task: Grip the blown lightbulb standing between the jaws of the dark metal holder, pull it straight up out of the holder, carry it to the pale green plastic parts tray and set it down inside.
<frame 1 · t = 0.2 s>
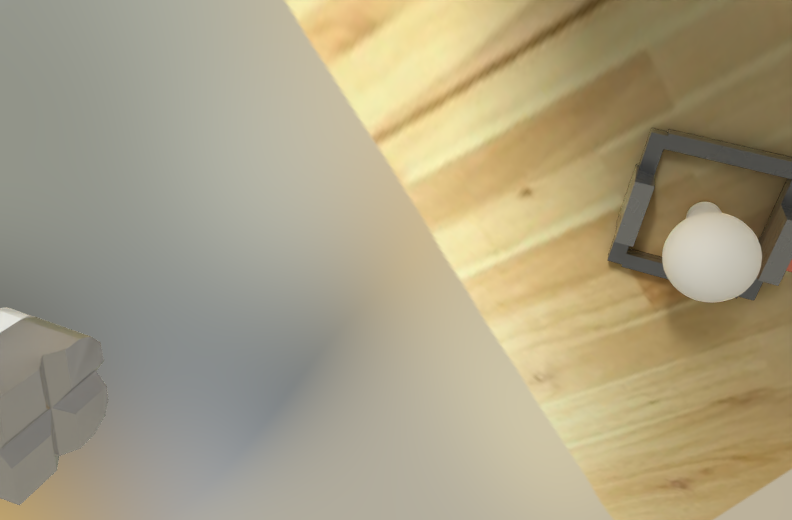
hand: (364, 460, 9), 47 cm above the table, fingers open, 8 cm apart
lightbulb: (703, 211, 53), resting in holder
holder: (703, 212, 53), on the table
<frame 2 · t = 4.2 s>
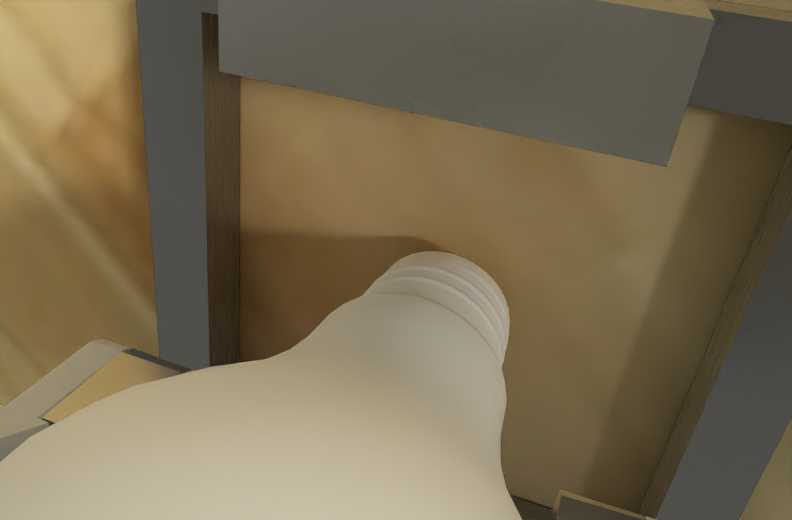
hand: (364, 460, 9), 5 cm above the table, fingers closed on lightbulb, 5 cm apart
lightbulb: (454, 288, 13), resting in holder, touching gripper
holder: (452, 293, 13), on the table
when the fingers open (7 cm above the table, at t = 10.9 s): lightbulb drops 1 cm, resting on tray.
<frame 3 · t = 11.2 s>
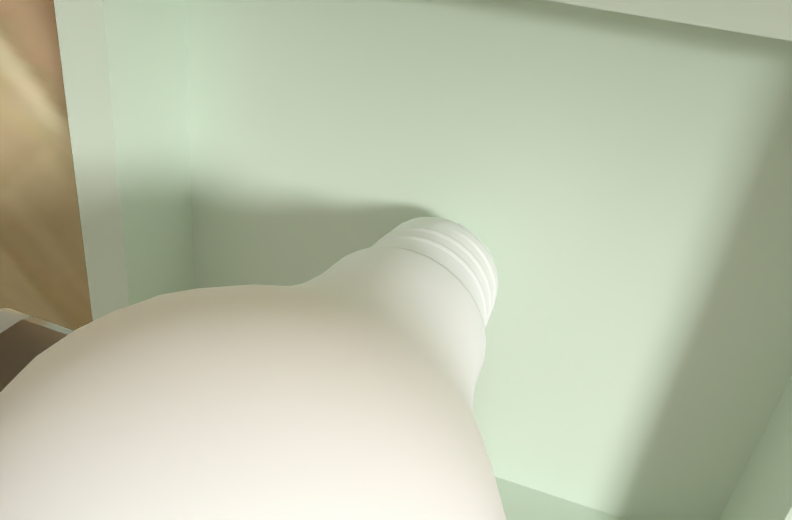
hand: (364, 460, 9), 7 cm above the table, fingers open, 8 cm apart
lightbulb: (451, 254, 14), resting on tray
tray: (473, 248, 15), on the table
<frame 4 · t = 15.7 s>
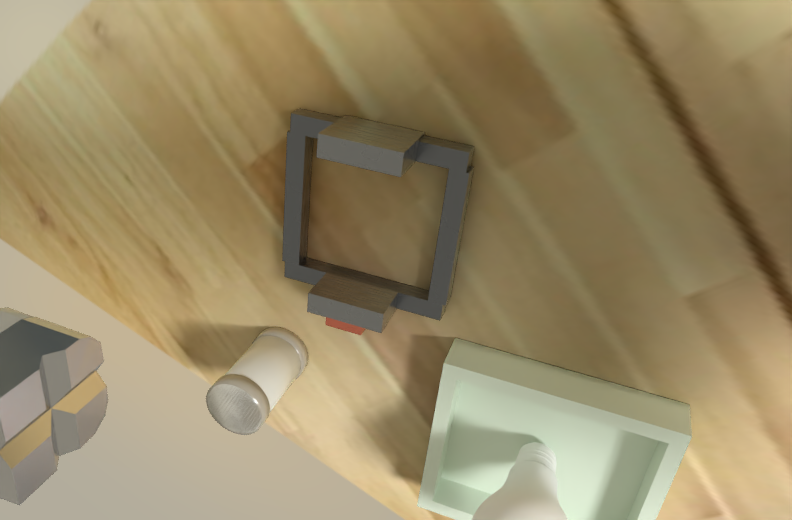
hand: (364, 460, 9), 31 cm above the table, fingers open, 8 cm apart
lightbulb: (539, 446, 47), resting on tray
tray: (545, 444, 47), on the table
holder: (374, 213, 43), on the table
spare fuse: (282, 351, 51), on the table
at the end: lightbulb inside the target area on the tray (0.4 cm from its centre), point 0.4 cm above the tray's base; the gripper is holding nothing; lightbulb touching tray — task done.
